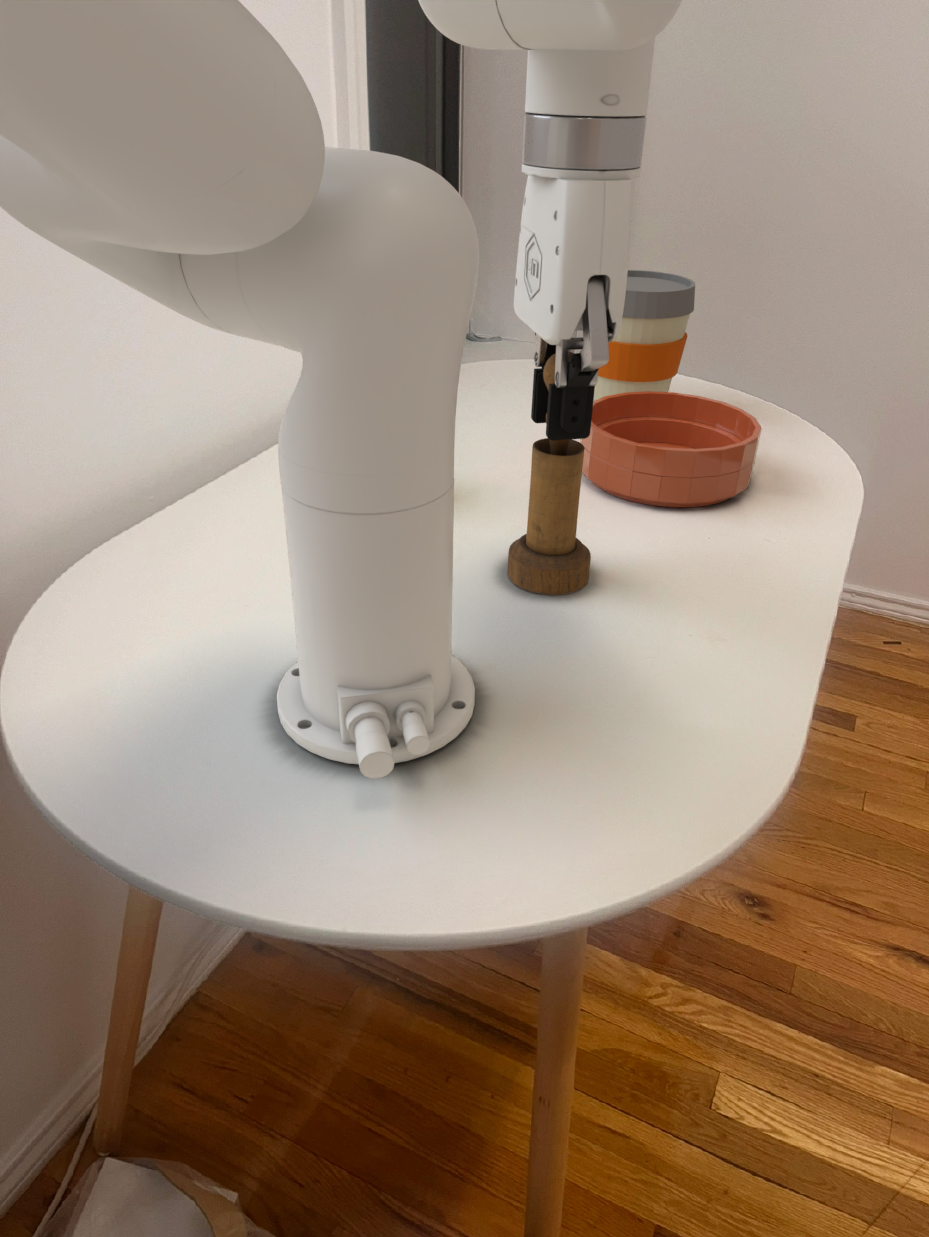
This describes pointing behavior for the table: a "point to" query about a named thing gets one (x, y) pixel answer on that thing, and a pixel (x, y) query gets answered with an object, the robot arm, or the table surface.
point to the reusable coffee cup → (648, 334)
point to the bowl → (670, 448)
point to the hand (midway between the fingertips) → (559, 427)
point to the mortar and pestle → (552, 518)
